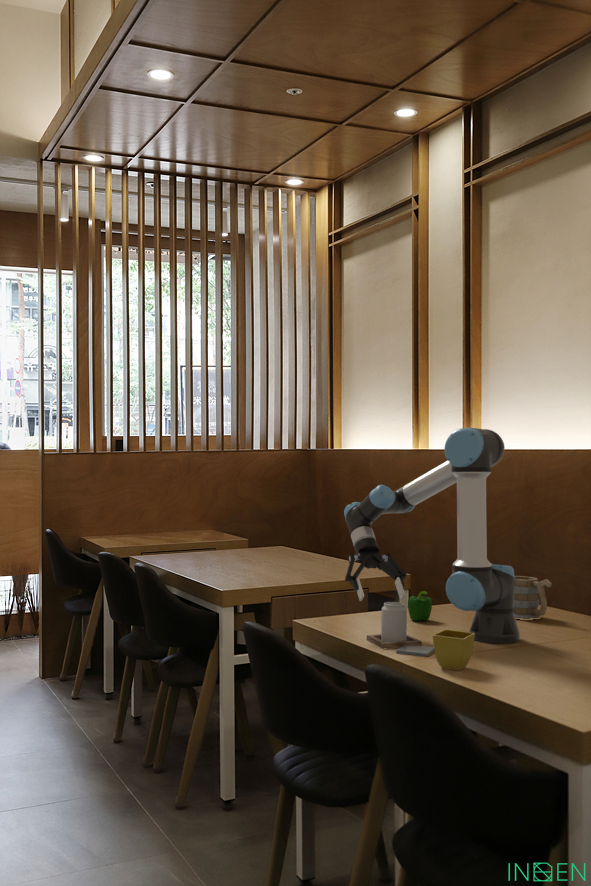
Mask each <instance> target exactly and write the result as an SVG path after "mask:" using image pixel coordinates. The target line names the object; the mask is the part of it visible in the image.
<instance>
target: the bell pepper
mask: <svg viewBox="0 0 591 886" xmlns="http://www.w3.org/2000/svg"><path fill="white" fill-rule="evenodd" d="M427 594H428V592H427V591H420V592H419V593H418V596H415V595H411V596H410V597H409V598H408V600H407V611H408V614H409V617H410V620H411V621H415V622H419V621H421V622H424V621H425V622H426V621H429V619H430V617H431V613H432V609H433V602H432V601H433V600H432V597H429V596H423V595H427Z"/></svg>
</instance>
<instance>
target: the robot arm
mask: <svg viewBox="0 0 591 886" xmlns="http://www.w3.org/2000/svg"><path fill="white" fill-rule="evenodd" d="M443 448H444V455H445V458H446V461H444V462H443V463H441V464H439V465H437V466H436V467H434V468H432V469H430V470H429V471H427V472H425V473H424V474H422V475H420V476H419V477H417V478H415V479H414V480H412V481H410V482H409V483H406V484H405V485H403V486H401V487H400V488H397V489H396V490H392V489H391V488H390V487H389V486H386V485H385V484H378V485H377V486H376V487H375V488H373V489H372V490H371V491H370V492H369V494H367V496H366V497H365V498H364V499H363V500H362V501H360V502H359V501H354V502H351V503H350V504H347V505H346V506H345V508H344V510H343V513H344V518H345V519H344V520H345V523H346V527H347V528H348V530H349V534H350V535H349V536H350V539H351V541H352V545H353V547H354V551H355V554H354V553H353V552H352V553H350V555H349V557H348V566H347V570H346V573H345V577H344V582H349V583H350V585H352V588H353V590H354V591H356V593H357V596H358V599H359V602H363V599H364V597H365V593H364V590H363V587H362V583H361V581H360V578H358V577H359V576H360V575H361V573H362V571H363V570H364V568H366V569H378V570H379V571H383V572H384V573H385V574H386V575H387V576H389V577H390V578H391V579H393V580H394V585H395V587H396V591H397V594H398V597H399V599H400V600H404V598H405V596H406V592H405V590H404V588H405V582H404V580H405V579H406V576H407V575H408V574H407V573H406V571H405V570H404V569H403V568H402V567H401V566H400V565H399V564H398V563H397V561H395V560H394V558H392V555H391V553H389V552H386V554H382V553H381V552H380V547H379V544H378V542H377V539H376V535H375V533H374V529H373V527H372V524H373V523H375V521H376V520H377V519H379V517H380V516H382V515H384V514H385V515H387V514H406V513H410V512H411V511H413V510H414V509H415V507H416V506H417V505H418V504H420V503H422V502H424V501H426V500H427V499H429V498H431V497H433V496H434V495H437V494H438V493H440V492H441V491H444V490H445V489H447V488H448V487H450V486H453V485H454V484H456V516H457V517H456V519H457V520H456V521H457V522H456V524H457V525H456V528H457V537H456V538H457V542H456V543H457V558H456V560H454V562H453V563H452V574H451V575H450V576H449V577H448V579H447V580H446V584H445V592H446V597H447V599H448V600H449V601H450V603H451V604H452V605H453V607H455V608H456V609H458V610H460V611H463V612H474V615H473V619H472V621H471V624H470V628H469V632H470V633H475V638H474V641H477V642H480V643H481V642H482V643H489V644H512V643H513V642H514V643H517V641H518V642H519V641H521V640H520V637H521V636H520V635H521V634H520V630H519V627H518V623H517V620H515V617H514V580H515V577H514V576H515V569H514V568H513V566H511V565H506V564H505V565H503V564H494V563H491V562H490V561H489V559H488V558H487V557H488V556H487V555H488V553H487V551H488V549H487V547H488V545H487V544H488V541H487V538H488V537H487V536H488V535H487V534H488V533H487V532H488V531H487V478H488V477H489V476H490V474H491V473H492V467H494V466H496V465H497V464H499V463H500V461H501V460H502V459H503V458H504V454H505V448H506V447H505V443H504V440H503V438H502V437H501V435H499V434H498V433H497V432H496V431H494V430H491V429H487V428H485V429H484V428H477V427H461V428H458V429H456V430H454V431H452V433H451V434H450V435H448V436H447V439H446V441H445V443H444V447H443ZM356 561H357V562H358V563H359V566H357V567H358V568H357V569H356V570H355V572H354V573H353V575H352V572H353V568H354V565H355V563H356ZM514 643H513V644H514Z"/></svg>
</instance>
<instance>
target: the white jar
mask: <svg viewBox="0 0 591 886" xmlns="http://www.w3.org/2000/svg"><path fill="white" fill-rule="evenodd" d="M407 613H408V608H406V606H405V603H403V602H398V601H386V602H384V603H383V606H382V607H381V619H380V620H381V621H380V622H381V625H380V626H381V632H380V633H381V641H383V642H403V641H406V634H407V627H408V626H407V622H408V621H407V617H408V616H407Z"/></svg>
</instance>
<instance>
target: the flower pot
mask: <svg viewBox="0 0 591 886" xmlns="http://www.w3.org/2000/svg"><path fill="white" fill-rule="evenodd" d="M474 638H475V633H470V631H467V632H466V631H461V630H455V629H454V630H453V629H443V630H440V631H439V632H436V633H433V635H432V642H433V647H434V652H433V653H434V656H435V658H436V661H437V663H438V664H439V666H440V668H442V669H444V668H446V669H445V670H447V669H448V670H453V671H457V670H458V672H459V671H461V670H463V669H464V668H466V667H467V665H468V664H469V662H470V661H471V659H472V658H471V657H472V656H473V655H472V654H473V651H474V646H475V644H474V643H475V640H474Z"/></svg>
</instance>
